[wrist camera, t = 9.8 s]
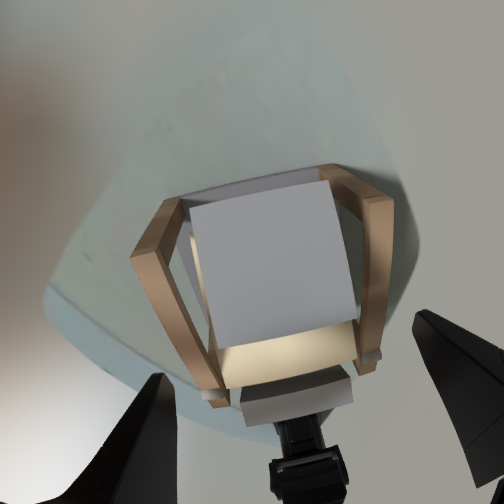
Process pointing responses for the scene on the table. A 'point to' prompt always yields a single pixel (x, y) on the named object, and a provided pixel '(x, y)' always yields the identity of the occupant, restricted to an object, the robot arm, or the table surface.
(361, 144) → the table surface
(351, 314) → the light grey block
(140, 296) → the table surface
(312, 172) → the mat
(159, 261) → the frame
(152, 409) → the robot arm
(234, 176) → the table surface
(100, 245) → the table surface
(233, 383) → the trapdoor
